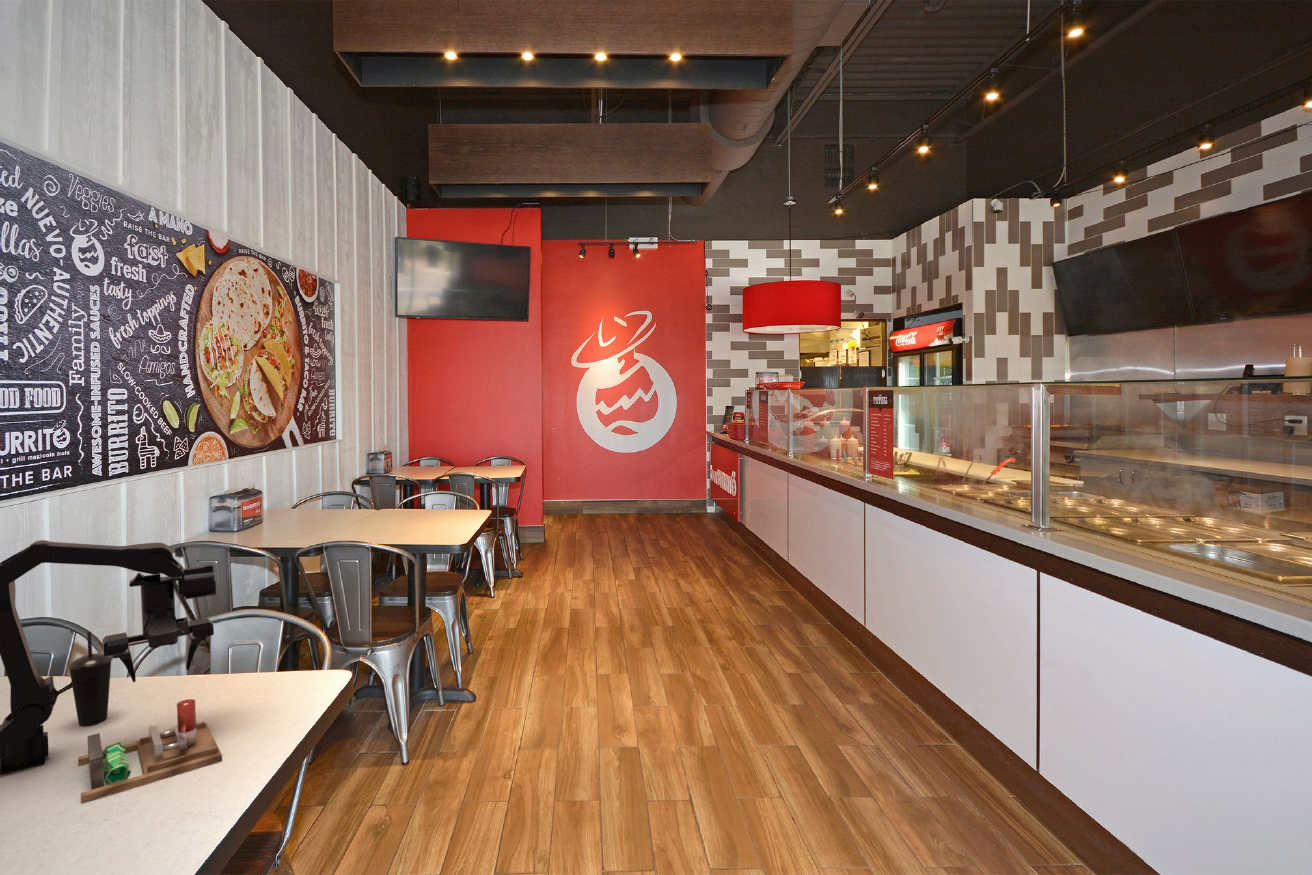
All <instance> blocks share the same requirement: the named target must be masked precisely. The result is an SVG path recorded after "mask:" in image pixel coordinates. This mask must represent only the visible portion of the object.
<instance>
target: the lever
mask: <svg viewBox="0 0 1312 875" xmlns="http://www.w3.org/2000/svg"><path fill="white" fill-rule="evenodd" d="M196 712H197V711H196V700H195V699H193V698H188V699H184V700H180V701H178V702H177V704H176V713H177V715H176V716H177V725H175V726H173V727H172V729H169V730H166V731H163V732H160V731H159V729H158V726H157V725H153V726H149V727H148V732H149V735H148V737H149V739H150V747H151V750H152V754H153V757H154V761H155V764H156V763H159V762H163V752H164V751H168V750H171V749H175V748H178V747H179V750H182V749H185V748H187V747H189V746H192V745H194V744H196V742H197V736H196V724H197V717H196V716H197V715H196V714H197V713H196ZM170 735H174V736H175V739H176V742H177V743H173V744H169V745H166V746H163V745H162V741H161V738H163V737H167V736H170Z"/></svg>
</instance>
